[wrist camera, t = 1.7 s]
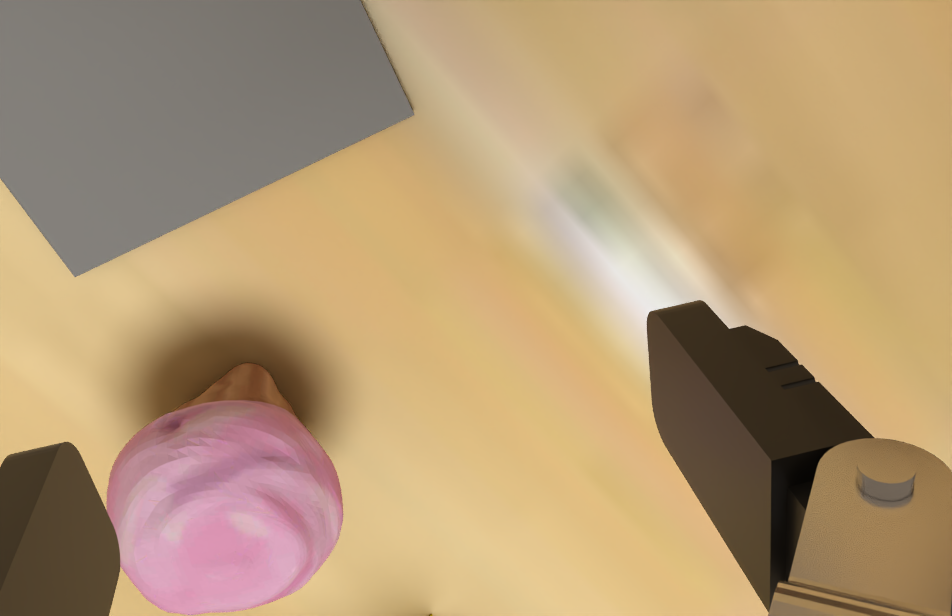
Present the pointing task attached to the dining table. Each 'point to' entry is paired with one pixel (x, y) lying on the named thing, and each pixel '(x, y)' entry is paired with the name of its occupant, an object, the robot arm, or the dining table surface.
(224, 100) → the mat
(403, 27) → the dining table surface
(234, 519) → the cupcake
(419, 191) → the dining table surface
